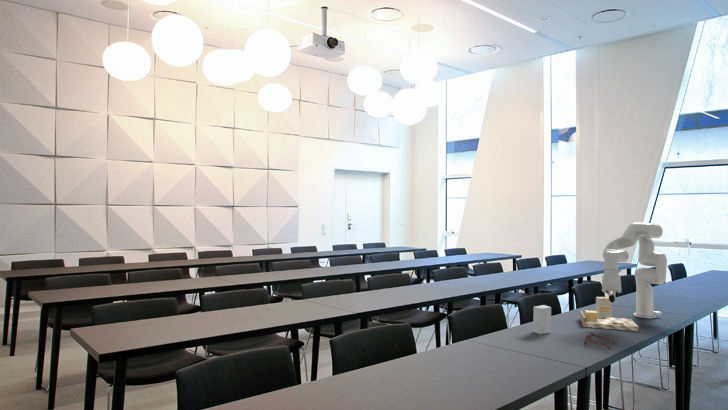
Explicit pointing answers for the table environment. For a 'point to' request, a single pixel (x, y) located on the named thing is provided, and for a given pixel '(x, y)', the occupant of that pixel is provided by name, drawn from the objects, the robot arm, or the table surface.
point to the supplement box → (603, 307)
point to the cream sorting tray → (610, 323)
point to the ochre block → (591, 315)
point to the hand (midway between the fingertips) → (611, 301)
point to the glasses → (595, 342)
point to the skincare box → (542, 319)
